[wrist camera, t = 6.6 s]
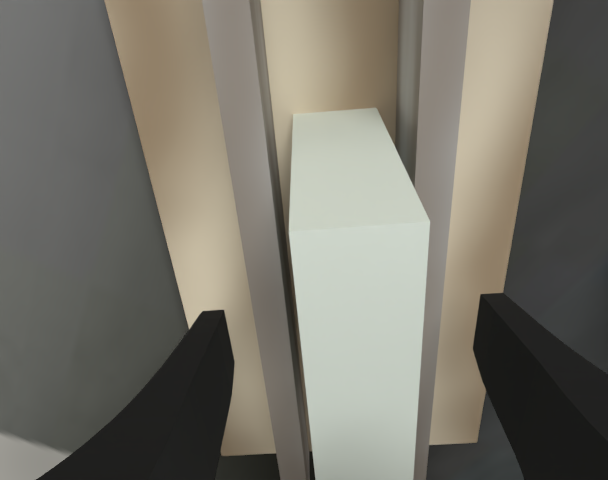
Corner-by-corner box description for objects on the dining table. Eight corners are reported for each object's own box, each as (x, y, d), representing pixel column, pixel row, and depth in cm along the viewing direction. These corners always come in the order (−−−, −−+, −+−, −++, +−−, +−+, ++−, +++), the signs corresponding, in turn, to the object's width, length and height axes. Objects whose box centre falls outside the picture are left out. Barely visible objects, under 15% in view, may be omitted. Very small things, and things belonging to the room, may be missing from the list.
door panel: (376, 107, 15) (430, 221, 9) (376, 352, 20) (409, 530, 14) (293, 114, 15) (288, 231, 9) (314, 356, 20) (321, 534, 14)
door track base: (561, -152, 12) (663, -189, 9) (470, 424, 24) (499, 505, 20) (90, -109, 13) (12, -129, 9) (224, 437, 24) (212, 519, 21)
